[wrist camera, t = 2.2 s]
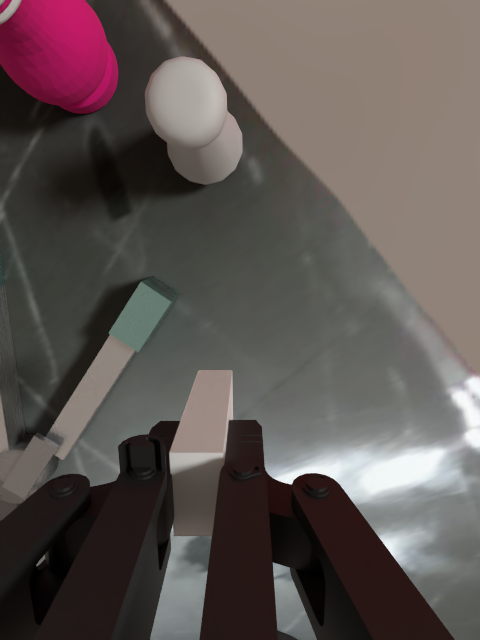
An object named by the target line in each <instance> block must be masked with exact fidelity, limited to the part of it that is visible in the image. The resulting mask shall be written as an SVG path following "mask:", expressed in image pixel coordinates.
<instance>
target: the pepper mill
mask: <svg viewBox="0 0 480 640" xmlns="http://www.w3.org/2000/svg"><path fill="white" fill-rule="evenodd" d="M0 64H1V66H2V67H3V68H4V70H5V71H6V73H7V74H8V75H9V76H10V77H11V79H12V80H13V81H14V82H15V83H16V84H17V85H18V86H20V87H21V88H22V89H23V90H24V91H26V92H27V93H28V94H29V95H31V96H32V97H34V98H36V99H38V100H40V101H42V102H45V103H48V104H52V105H58V106H60V107H61V108H63V109H65V110H67V111H69V112H72V113H77V114H87V113H92V112H95V111H97V110H99V109H101V108H102V107H103V106H105V105H106V104H107V103H108V102H109V101H110V99H111V98H112V96H113V94H114V92H115V90H116V87H117V83H118V65H117V60H116V57H115V54H114V52H113V50H112V48H111V46H110V45H109V43H108V42H107V40H106V36H105V33H104V30H103V27H102V25H101V22H100V20H99V19H98V17H97V15H96V13H95V12H94V11H93V9H92V8H91V7H90V6H89V4H88V3H87V2H86V1H85V0H0Z"/></svg>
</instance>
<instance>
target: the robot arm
mask: <svg viewBox="0 0 480 640" xmlns="http://www.w3.org/2000/svg"><path fill="white" fill-rule="evenodd" d="M118 451H119V463H120V474H119V476H118V478H117V480H116V481H114V482H111V483H107V484H103V485H98V486H93V487H90V481H89V480H88V478H87V477H86V476H83V475H80V474H66V475H62V476H59V477H57V478H54V479H52V480H50V481H48V482H47V483H45V484H44V485H43V486H41V487H40V488H39V489H38V490H37V491H35V492H34V493H33V494H32V495H31V496H30V497H28V498H27V499H26V500H25V501H24V502H22V503H21V504H20V505H19V506H18V507H17V508H15V509H14V510H13V511H12V512H11V513H9V514H8V515H7V516H6V517H5V518H4V519H2V520H1V521H0V640H150V636H151V631H152V627H153V623H154V619H155V615H156V610H157V606H158V602H159V598H160V593H161V589H162V585H163V581H164V577H165V572H166V568H167V564H168V560H169V556H170V551H171V540H170V533H171V529H172V525H173V527H174V536H212V541H211V549H210V558H209V566H208V574H207V583H206V591H205V599H204V608H203V616H202V624H201V632H200V640H297V639H295V638H293V637H291V636H289V635H286V634H284V633H281V632H277V620H276V605H275V591H274V577H273V563H272V562H274V563H277V564H280V565H284V566H287V567H290V571H291V576H292V579H293V581H294V583H295V586H296V588H297V591H298V593H299V596H300V598H301V601H302V603H303V606H304V608H305V611H306V613H307V615H308V618H309V620H310V623H311V625H312V628H313V630H314V633H315V635H316V638H317V640H454V638H453V637H452V636H451V634H450V633H449V631H448V630H447V629H446V627H445V626H444V625H443V623H442V622H441V621H440V619H439V618H438V617H437V615H436V614H435V613H434V611H433V610H432V609H431V607H430V606H429V604H428V603H427V602H426V600H425V599H424V598H423V596H422V595H421V594H420V592H419V591H418V590H417V588H416V587H415V586H414V584H413V583H412V582H411V580H410V579H409V578H408V576H407V575H406V573H405V572H404V571H403V569H402V568H401V567H400V565H399V564H398V563H397V561H396V560H395V559H394V557H393V556H392V555H391V553H390V552H389V551H388V549H387V548H386V547H385V545H384V544H383V542H382V541H381V540H380V538H379V537H378V536H377V534H376V533H375V532H374V530H373V529H372V528H371V526H370V525H369V524H368V522H367V521H366V520H365V518H364V517H363V515H362V514H361V513H360V511H359V510H358V509H357V507H356V506H355V505H354V503H353V502H352V501H351V499H350V498H349V497H348V495H347V494H346V493H345V491H344V490H343V489H342V487H341V486H340V485H339V484H338V483H337V482H336V481H335V480H334V479H332V478H330V477H328V476H326V475H322V474H317V473H311V474H304V475H301V476H299V477H297V478H296V479H295V480H294V481H293V484H292V485H290V484H286V483H283V482H279V481H277V480H275V479H273V478H272V477H271V476H269V475H268V473H267V472H266V470H265V467H264V452H263V438H262V427H261V426H260V424H259V423H258V422H257V421H256V420H233V389H232V370H198V373H197V376H196V378H195V381H194V384H193V387H192V390H191V393H190V395H189V398H188V401H187V404H186V407H185V410H184V412H183V415H182V418H181V421H160V422H159V423H157V424H156V425H155V426H154V427H152V429H151V431H150V433H149V435H148V434H146V435H138V436H134V437H131V438H128V439H127V440H125V441H123V442H122V443H121V444H120V445H119V446H118ZM44 555H45V560H44V561H43V562H42V563H41V564H40V565H39V566H37V567H36V564H37V563H38V561H39V560H40V559H41V558H42V557H43V556H44Z"/></svg>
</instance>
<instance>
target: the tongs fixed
mask: <svg viewBox="0 0 480 640" xmlns="http://www.w3.org/2000/svg"><path fill="white" fill-rule="evenodd" d="M33 437H34V435H32V434H28V435H26V431H25V424H24V417H23V410H22V403H21V395H20V388H19V381H18V374H17V367H16V360H15V353H14V346H13V339H12V331H11V324H10V317H9V310H8V303H7V296H6V289H5V282H4V275H3V267H2V260H1V253H0V521H1V520H2V519H4V518H5V517H6V516H7V515H8V514H9V513H11V512H12V511H13V510H14V509H15V508H17V507H18V506H19V505H20V504H21V503H22V502H24V501H25V500H26V499H27V498H28V497H30V496H31V495H32V494H33V493H34V492H35V491H37V490H38V489H39V488H40V487H41V486H43V485H44V484H45V483H46V482H47V481H48V479H49V478H50V477H51V476H52V474H53V473H54V472H55V470H56V469H57V466H58V461H59V460H58V457H57V456H55V455H53V457H52V458H51V460H50V461H49V463H48V465H47V466H46V468H45V469H44V471H43V472H42V474H41V475H40V477H39V479H38V480H37V482H36V483H35V485H34V486H33V488H32V489H31V491H30V493H29V494H28V495H27V497H26V498H25V499H23V498H21V497H20V496H18V495H16V494H14V493H13V492H11V491H9V490H7V489H6V488H4V487H2V486H3V485H4V483H5V481H6V480H7V478H8V477H9V475H10V473H11V472H12V470H13V469H14V467H15V465H16V464H17V462H18V461H19V459H20V457H21V456H22V454H23V453H24V451H25V449H26V448H27V446H28V445H29V443H30V441H31V440H32V438H33Z"/></svg>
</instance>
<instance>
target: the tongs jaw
mask: <svg viewBox="0 0 480 640" xmlns="http://www.w3.org/2000/svg"><path fill="white" fill-rule="evenodd" d="M179 295H180V294H179V293H177V292H176V291H174V290H173V289H171V288H170V287H168V286H167V285H165V284H164V283H162V282H161V281H159V280H158V279H156V278H155V277H153V276H152V277H150V278H148V279H146V280H143V281H141V282H140V284H139V285H138V287H137V289H136V290H135V292H134V293H133V295H132V296H131V298H130V300H129V301H128V303H127V304H126V306H125V308H124V309H123V311H122V312H121V314H120V316H119V317H118V319H117V320H116V322H115V323H114V325H113V327H112V328H111V330H110V331H109V334H110V336H109V337H108V339H107V340H106V342H105V344H104V345H103V347H102V348H101V350H100V352H99V353H98V355H97V356H96V358H95V359H94V361H93V363H92V364H91V366H90V367H89V369H88V370H87V372H86V374H85V375H84V377H83V378H82V380H81V382H80V383H79V385H78V386H77V388H76V389H75V391H74V393H73V394H72V396H71V397H70V399H69V401H68V402H67V404H66V405H65V407H64V408H63V410H62V412H61V413H60V415H59V416H58V418H57V420H56V421H55V423H54V424H53V426H52V427H51V429H50V431H49V432H48V434H47V435H46V437H45V436H43V435H41V434H40V433H38V432H37V433H36V434H35V435H34V437H33V438H32V440H31V441H30V443H29V445H28V446H27V448H26V449H25V451H24V453H23V454H22V456H21V457H20V459H19V461H18V462H17V464H16V465H15V467H14V469H13V470H12V472H11V473H10V475H9V477H8V478H7V480H6V481H5V483H4V485H3V486H2V487H4V488H6V489H7V490H9V491H11V492H13V493H14V494H16V495H18V496H20V497H21V498H23V499H25V498H26V497H27V495H28V494H29V493H30V491H31V489H32V488H33V486H34V485H35V483H36V482H37V480H38V479H39V477H40V475H41V474H42V472H43V471H44V469H45V468H46V466H47V465H48V463H49V461H50V460H51V458H52V457H53V455H55V456H57V457H59V458H60V459H62V460H64V459H65V457H66V456H67V455H68V454H69V452H70V451H71V450H72V449H73V447H74V446H75V445H76V444H77V442H78V441H79V439H80V438H81V436H82V435H83V433H84V431H85V430H86V428H87V427H88V425H89V424H90V422H91V421H92V419H93V418H94V416H95V415H96V413H97V412H98V410H99V409H100V407H101V406H102V404H103V402H104V401H105V399H106V398H107V396H108V395H109V393H110V392H111V390H112V389H113V387H114V386H115V384H116V383H117V381H118V380H119V378H120V377H121V375H122V373H123V372H124V370H125V369H126V367H127V366H128V364H129V363H130V361H131V360H132V358H133V357H134V355H135V354H136V352H139V351H140V350H141V349H142V348H143V347H144V346H145V345H146V343H147V342H148V341H149V340H150V339H151V337H152V336H153V334H154V333H155V331H156V330H157V328H158V327H159V325H160V324H161V322H162V321H163V319H164V318H165V316H166V315H167V313H168V312H169V310H170V309H171V307H172V305H173V304H174V302H175V301H176V299H177V298H178V296H179Z"/></svg>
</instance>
